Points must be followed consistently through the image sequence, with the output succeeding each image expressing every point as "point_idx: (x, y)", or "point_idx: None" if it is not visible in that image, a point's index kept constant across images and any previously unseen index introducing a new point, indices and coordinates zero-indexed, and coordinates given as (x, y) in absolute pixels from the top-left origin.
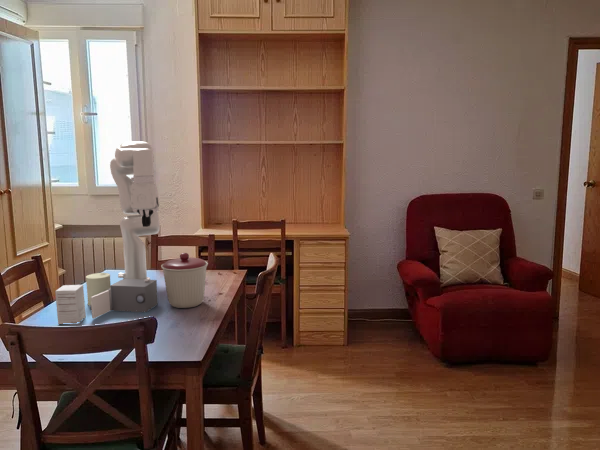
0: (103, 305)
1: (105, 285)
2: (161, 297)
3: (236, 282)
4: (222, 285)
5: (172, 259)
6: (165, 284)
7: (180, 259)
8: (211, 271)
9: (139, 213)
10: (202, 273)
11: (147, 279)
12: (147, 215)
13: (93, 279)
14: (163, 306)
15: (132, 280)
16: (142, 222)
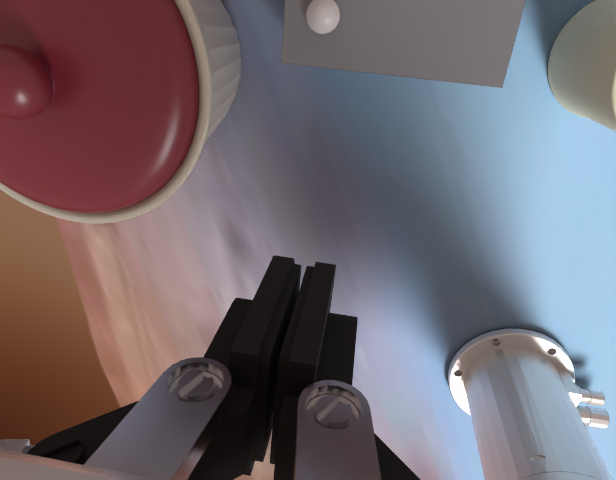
0: None
1: (611, 30)
2: (324, 158)
3: (104, 346)
4: (138, 314)
5: (146, 128)
6: (219, 26)
7: (75, 104)
8: (248, 476)
9: (399, 476)
10: None
11: (322, 23)
12: (190, 379)
13: None
14: (265, 18)
15: (431, 44)
16: (346, 324)
